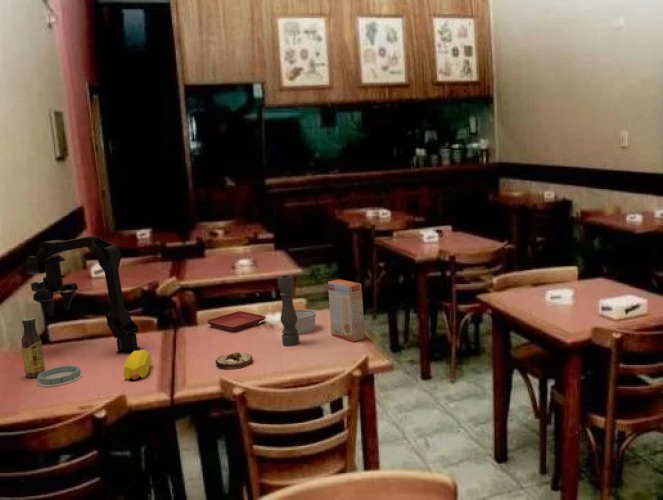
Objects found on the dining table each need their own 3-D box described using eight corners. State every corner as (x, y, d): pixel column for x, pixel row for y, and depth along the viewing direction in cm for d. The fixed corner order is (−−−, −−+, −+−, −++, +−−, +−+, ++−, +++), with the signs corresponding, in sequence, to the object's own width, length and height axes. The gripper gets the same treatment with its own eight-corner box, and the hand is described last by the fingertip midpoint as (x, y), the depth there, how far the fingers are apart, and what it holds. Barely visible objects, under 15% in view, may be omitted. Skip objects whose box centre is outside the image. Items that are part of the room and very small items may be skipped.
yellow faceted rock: (153, 363, 225) (130, 365, 224) (151, 344, 224) (128, 347, 223) (147, 380, 208) (122, 383, 207) (144, 361, 207) (120, 364, 206)
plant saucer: (267, 323, 267) (266, 315, 267) (233, 334, 254) (232, 326, 254) (240, 317, 280) (239, 310, 279) (206, 328, 267) (205, 320, 266)
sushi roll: (209, 361, 223) (208, 350, 223) (252, 354, 227) (251, 343, 227) (214, 374, 209) (213, 362, 209) (259, 367, 213) (258, 355, 213)
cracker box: (366, 339, 235) (362, 283, 231) (352, 342, 231) (348, 286, 228) (343, 331, 246) (340, 278, 243) (330, 335, 243) (326, 281, 239)
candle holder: (279, 345, 234) (273, 278, 230) (287, 340, 240) (281, 275, 236) (295, 346, 232) (289, 278, 228) (302, 341, 237) (296, 275, 233)
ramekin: (316, 334, 246) (314, 316, 244) (282, 336, 246) (280, 318, 245) (317, 324, 259) (316, 308, 258) (284, 327, 259) (283, 310, 258)
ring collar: (90, 372, 220) (89, 365, 219) (63, 387, 206) (62, 380, 206) (56, 371, 224) (55, 364, 223) (27, 386, 210) (26, 379, 210)
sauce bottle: (38, 378, 217) (29, 321, 214) (21, 378, 219) (13, 322, 215) (50, 371, 224) (41, 316, 220) (34, 371, 225) (25, 316, 222)
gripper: (52, 269, 255) (57, 307, 258) (18, 279, 238) (24, 319, 240) (76, 268, 252) (81, 307, 255) (43, 278, 235) (49, 320, 237)
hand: (59, 313), depth 247 cm, fingers open, 9 cm apart
